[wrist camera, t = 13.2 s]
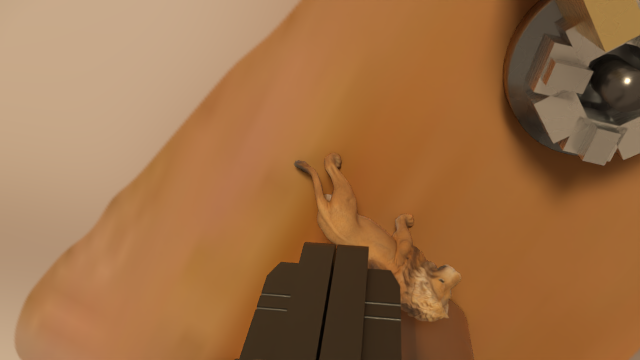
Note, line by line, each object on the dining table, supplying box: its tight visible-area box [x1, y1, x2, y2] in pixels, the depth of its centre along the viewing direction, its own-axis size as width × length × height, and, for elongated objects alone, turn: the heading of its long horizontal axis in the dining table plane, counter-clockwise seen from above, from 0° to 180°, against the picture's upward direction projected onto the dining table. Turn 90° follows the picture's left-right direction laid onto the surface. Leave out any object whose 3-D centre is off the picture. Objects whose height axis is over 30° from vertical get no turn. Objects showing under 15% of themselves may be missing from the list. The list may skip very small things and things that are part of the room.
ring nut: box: [525, 0, 640, 166], centre depth 29 cm, size 16×10×7 cm, turn 34°
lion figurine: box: [294, 153, 461, 322], centre depth 39 cm, size 15×5×9 cm, turn 58°
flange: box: [503, 0, 640, 156], centre depth 32 cm, size 12×12×6 cm
